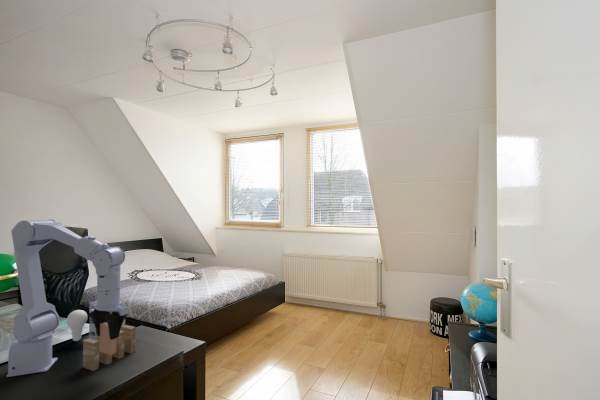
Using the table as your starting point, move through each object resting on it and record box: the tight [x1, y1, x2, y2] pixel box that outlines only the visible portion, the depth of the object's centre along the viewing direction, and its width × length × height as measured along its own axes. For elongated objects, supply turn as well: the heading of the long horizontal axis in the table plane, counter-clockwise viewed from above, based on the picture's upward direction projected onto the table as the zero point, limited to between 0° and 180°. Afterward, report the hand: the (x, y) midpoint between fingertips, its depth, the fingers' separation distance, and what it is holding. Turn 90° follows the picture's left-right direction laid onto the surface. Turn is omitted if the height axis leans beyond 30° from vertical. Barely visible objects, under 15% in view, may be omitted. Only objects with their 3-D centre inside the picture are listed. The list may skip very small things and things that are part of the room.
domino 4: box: [112, 331, 125, 360], centre depth 100 cm, size 2×5×8 cm, turn 65°
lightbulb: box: [66, 309, 89, 342], centre depth 111 cm, size 6×6×11 cm
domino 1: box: [82, 337, 100, 371], centre depth 92 cm, size 2×5×8 cm, turn 65°
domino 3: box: [97, 335, 113, 365], centre depth 96 cm, size 2×5×8 cm, turn 65°
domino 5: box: [121, 324, 136, 354], centre depth 103 cm, size 2×5×8 cm, turn 65°
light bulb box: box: [88, 302, 126, 340], centre depth 117 cm, size 11×7×11 cm, turn 168°
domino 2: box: [100, 322, 116, 355], centre depth 90 cm, size 2×5×8 cm, turn 65°
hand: (108, 336), depth 90 cm, fingers closed on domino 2, 5 cm apart
